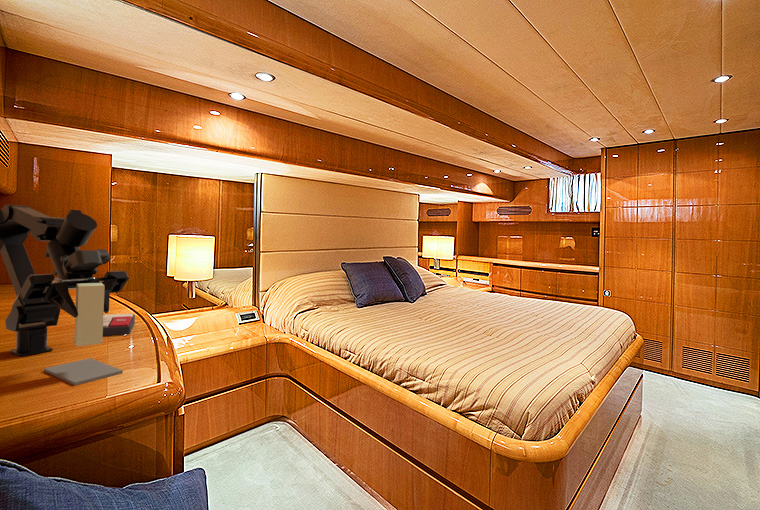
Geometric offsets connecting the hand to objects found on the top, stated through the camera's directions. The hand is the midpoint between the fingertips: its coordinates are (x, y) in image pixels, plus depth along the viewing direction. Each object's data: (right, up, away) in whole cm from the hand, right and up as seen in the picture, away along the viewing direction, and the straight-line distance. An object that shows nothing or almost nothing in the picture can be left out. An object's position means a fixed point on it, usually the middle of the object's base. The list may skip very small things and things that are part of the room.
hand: (92, 314), depth 82 cm
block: (-2, -6, +1) cm, 7 cm away
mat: (-3, -13, +1) cm, 14 cm away
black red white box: (-22, -11, +36) cm, 44 cm away
